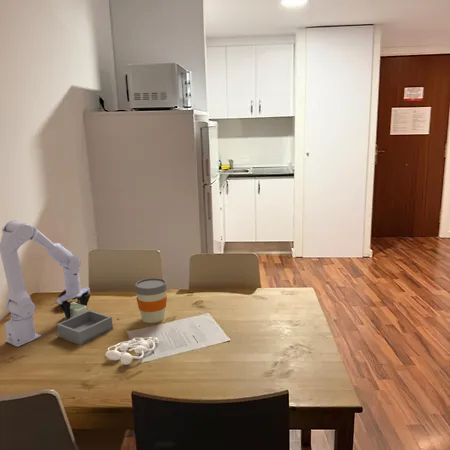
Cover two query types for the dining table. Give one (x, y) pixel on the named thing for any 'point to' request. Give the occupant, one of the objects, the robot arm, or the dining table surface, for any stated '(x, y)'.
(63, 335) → the charcoal crate
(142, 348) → the white tangled earphones
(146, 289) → the reusable coffee cup
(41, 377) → the dining table surface
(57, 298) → the pottery mug
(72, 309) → the sage crate
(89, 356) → the dining table surface
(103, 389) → the dining table surface
